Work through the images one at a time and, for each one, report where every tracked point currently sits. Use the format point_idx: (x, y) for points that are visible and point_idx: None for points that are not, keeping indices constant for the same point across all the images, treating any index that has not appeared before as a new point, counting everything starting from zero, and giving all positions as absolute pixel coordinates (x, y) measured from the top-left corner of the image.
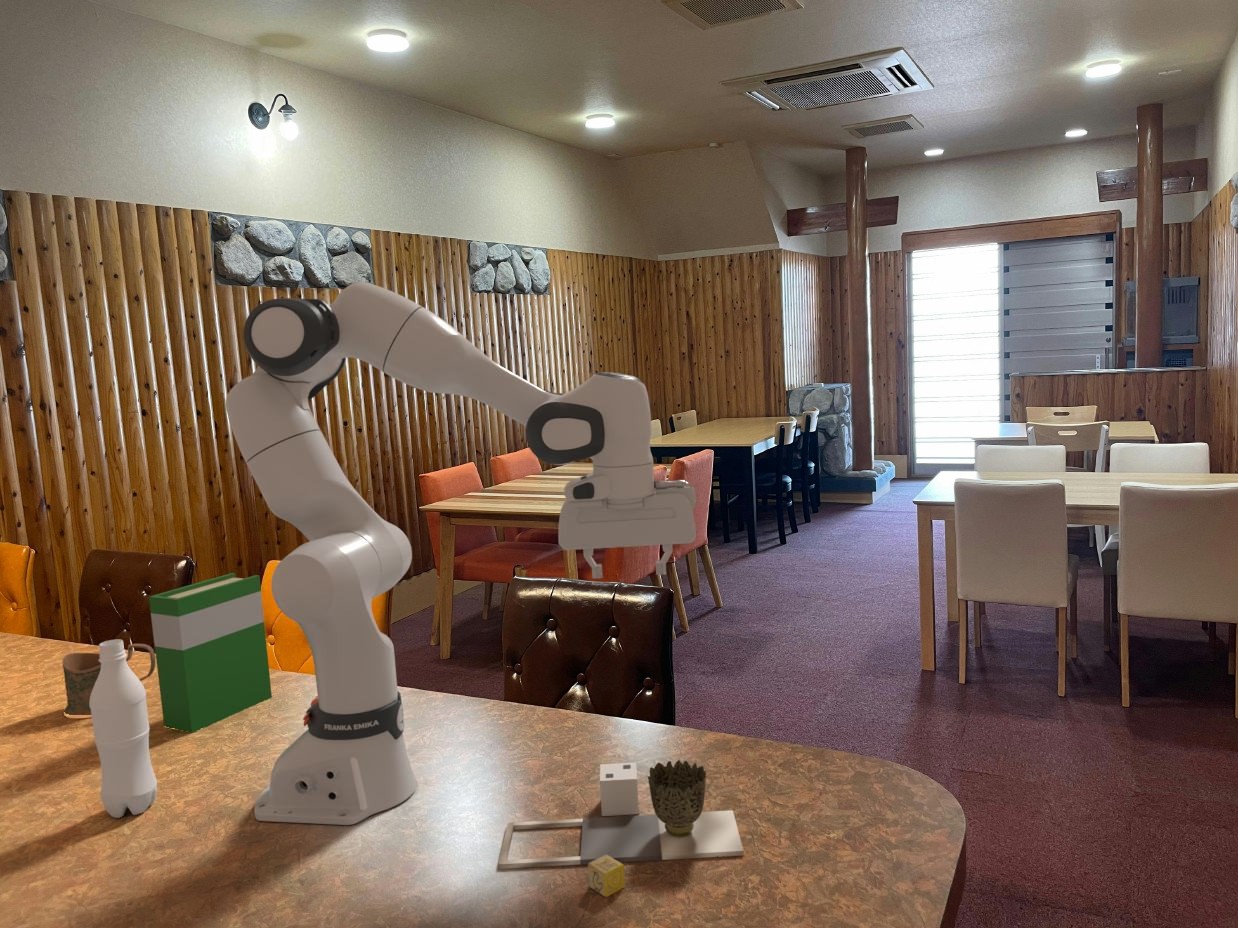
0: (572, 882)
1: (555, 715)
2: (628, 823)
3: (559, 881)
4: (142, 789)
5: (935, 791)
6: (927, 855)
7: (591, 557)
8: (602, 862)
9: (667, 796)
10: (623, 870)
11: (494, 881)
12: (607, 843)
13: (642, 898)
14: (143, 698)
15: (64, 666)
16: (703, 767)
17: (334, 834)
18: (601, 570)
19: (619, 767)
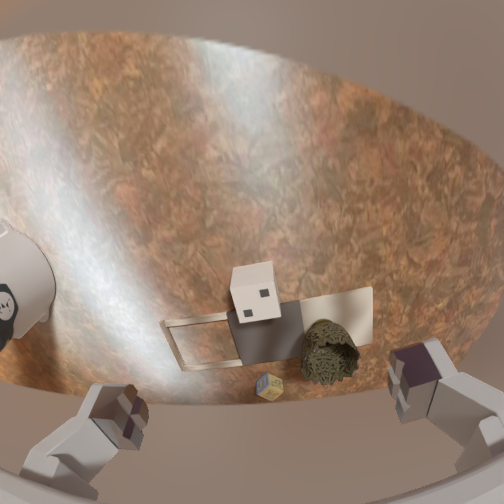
0: (243, 378)
1: (106, 47)
2: (273, 318)
3: (233, 378)
4: None
5: None
6: (481, 318)
7: (72, 454)
8: (267, 392)
9: (320, 376)
10: (282, 388)
11: (187, 379)
12: (259, 346)
13: (296, 387)
14: None
15: None
16: (359, 353)
17: (47, 328)
18: (141, 436)
19: (255, 294)
